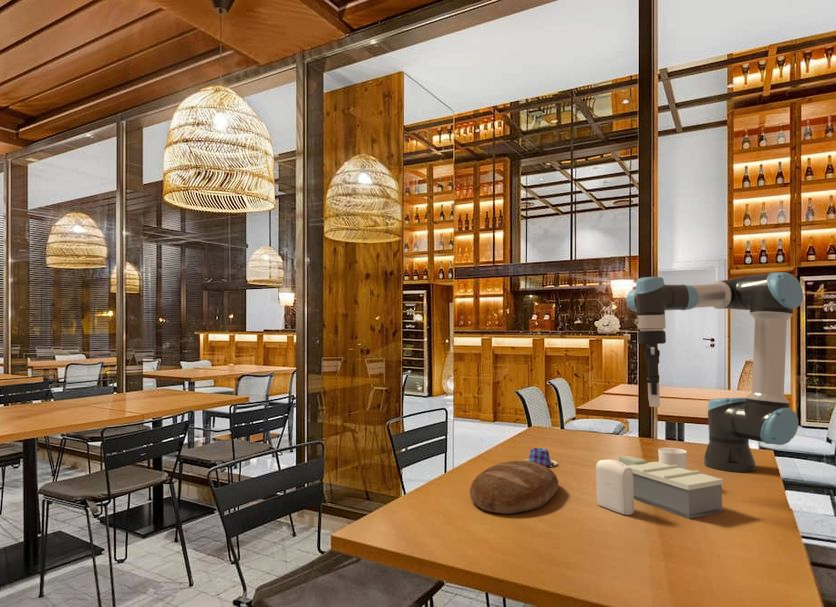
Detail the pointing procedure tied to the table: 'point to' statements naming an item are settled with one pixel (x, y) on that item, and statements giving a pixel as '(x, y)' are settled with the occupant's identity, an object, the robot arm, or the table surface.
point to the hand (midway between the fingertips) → (653, 403)
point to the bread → (513, 487)
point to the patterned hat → (540, 456)
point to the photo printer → (615, 486)
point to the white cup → (673, 457)
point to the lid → (670, 474)
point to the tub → (678, 497)
